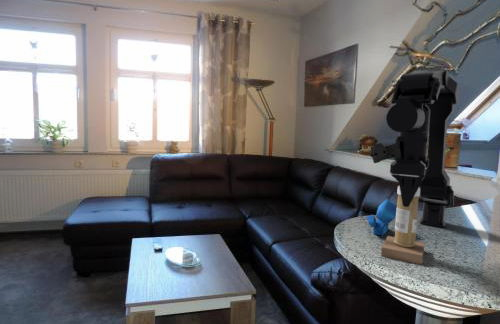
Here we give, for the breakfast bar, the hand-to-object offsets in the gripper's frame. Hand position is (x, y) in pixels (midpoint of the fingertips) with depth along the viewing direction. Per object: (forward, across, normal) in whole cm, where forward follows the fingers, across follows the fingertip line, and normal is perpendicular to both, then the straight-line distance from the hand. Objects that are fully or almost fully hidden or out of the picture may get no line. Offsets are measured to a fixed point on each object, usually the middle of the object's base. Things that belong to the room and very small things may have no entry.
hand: (407, 202), depth 73 cm
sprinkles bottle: (+10, 0, 0) cm, 10 cm away
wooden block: (+12, 0, 0) cm, 12 cm away
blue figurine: (+12, -13, -7) cm, 19 cm away
